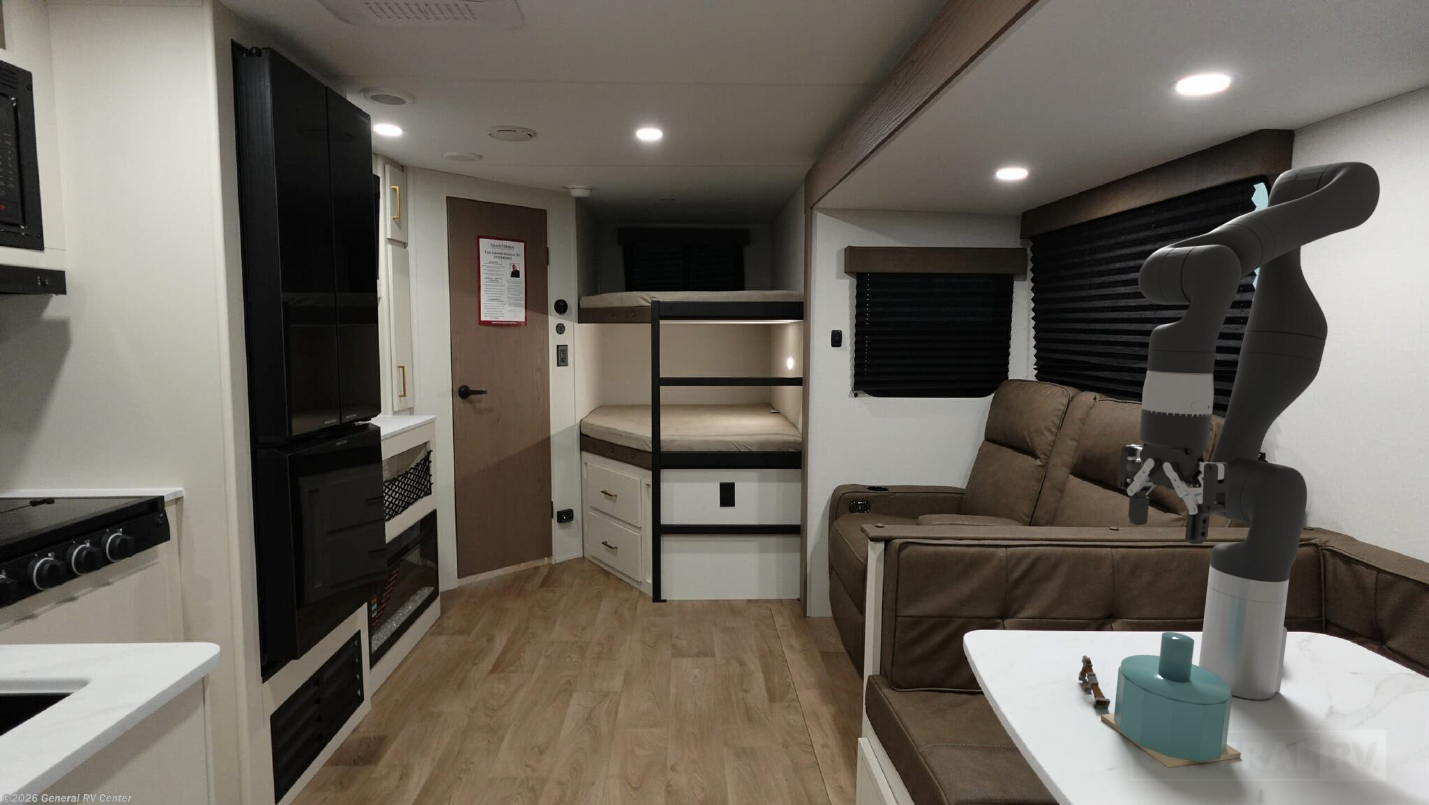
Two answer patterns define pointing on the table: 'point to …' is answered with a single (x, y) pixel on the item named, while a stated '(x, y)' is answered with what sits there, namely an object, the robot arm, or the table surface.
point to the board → (1171, 761)
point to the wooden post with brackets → (1092, 683)
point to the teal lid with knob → (1173, 702)
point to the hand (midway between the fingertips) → (1164, 533)
